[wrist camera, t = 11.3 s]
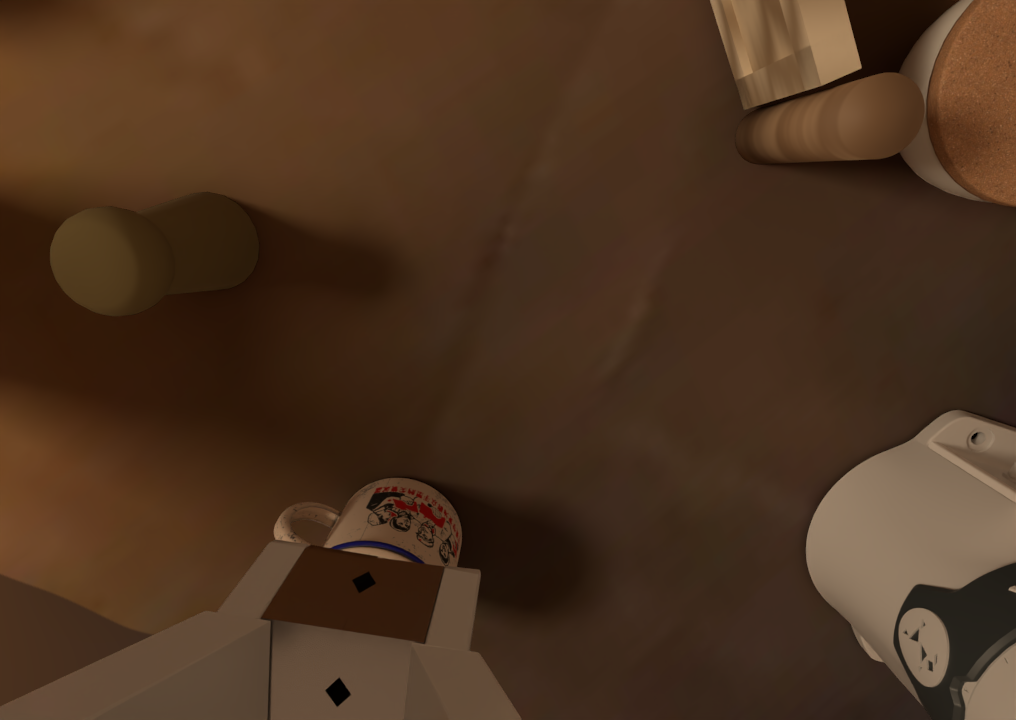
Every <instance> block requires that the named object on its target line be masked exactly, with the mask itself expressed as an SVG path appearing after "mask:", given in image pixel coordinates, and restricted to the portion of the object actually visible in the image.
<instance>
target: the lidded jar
mask: <svg viewBox="0 0 1016 720" xmlns="http://www.w3.org/2000/svg"><path fill="white" fill-rule="evenodd" d="M899 74H902V75H905V76H906V77H908V78H910V79H911V80H912V81H914V82H915V84H916V85H917V86H918V87H919V89H920V91H921V93H922V95H923V99H924V104H925V112H924V118H923V122H922V125H921V128H920V130H919V132H918V133H917V135H916V137H915V138H914V139H913V141H912V142H911V143H910V144H909V145H908V146H907V147H906V148H904V149H903V150H902V151H900V152H899V153H900V154H901V156H902V158H903V159H904V161H905V162H906V163H907V164H908V165H909V166H910V168H911V169H912V170H913V171H914V172H915V173H916V174H917V175H918V176H919V177H921V178H922V179H923V180H925V181H926V182H927V183H929V184H931V185H933V186H935V187H937V188H939V189H941V190H943V191H945V192H947V193H950V194H953V195H957V196H960V197H963V198H967V199H970V200H975V201H983V202H991V203H995V204H998V205H1003V206H1011V207H1016V0H960V1H959V2H957V3H956V4H955V5H953V6H952V7H951V8H949V9H948V10H947V11H946V12H944V13H943V14H942V15H941V16H940V17H939V18H938V19H937V20H936V21H935V22H934V23H933V24H931V25H930V26H929V27H928V28H927V29H926V30H925V32H924V33H923V34H922V35H921V37H920V38H919V39H918V40H917V42H916V43H915V44H914V46H913V47H912V49H911V50H910V52H909V54H908V55H907V57H906V59H905V60H904V62H903V64H902V66H901V68H900V70H899Z"/></svg>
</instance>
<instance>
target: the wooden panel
mask: <svg viewBox="0 0 1016 720" xmlns="http://www.w3.org/2000/svg"><path fill="white" fill-rule="evenodd" d="M710 2H711V5H712V8H713V11H714V15H715V18H716V21H717V24H718V27H719V31H720V34H721V37H722V40H723V44H724V47H725V50H726V53H727V56H728V60H729V63H730V66H731V69H732V72H733V76H734V79H735V82H736V85H737V89H738V92H739V95H740V98H741V101H742V105H743V108H744V110H745V109H749V108H752V107H755V106H758V105H761V104H765V103H768V102H771V101H774V100H778V99H781V98H784V97H787V96H790V95H794V94H797V93H800V92H803V91H807V90H810V89H813V88H816V87H819V86H822V85H825V84H827V83H829V82H831V81H834V80H836V79H838V78H840V77H843V76H845V75H847V74H850V73H852V72H854V71H856V70H859V69H861V68H862V67H861V63H860V59H859V55H858V51H857V47H856V44H855V40H854V36H853V32H852V28H851V24H850V20H849V17H848V13H847V9H846V5H845V1H844V0H710Z"/></svg>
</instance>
